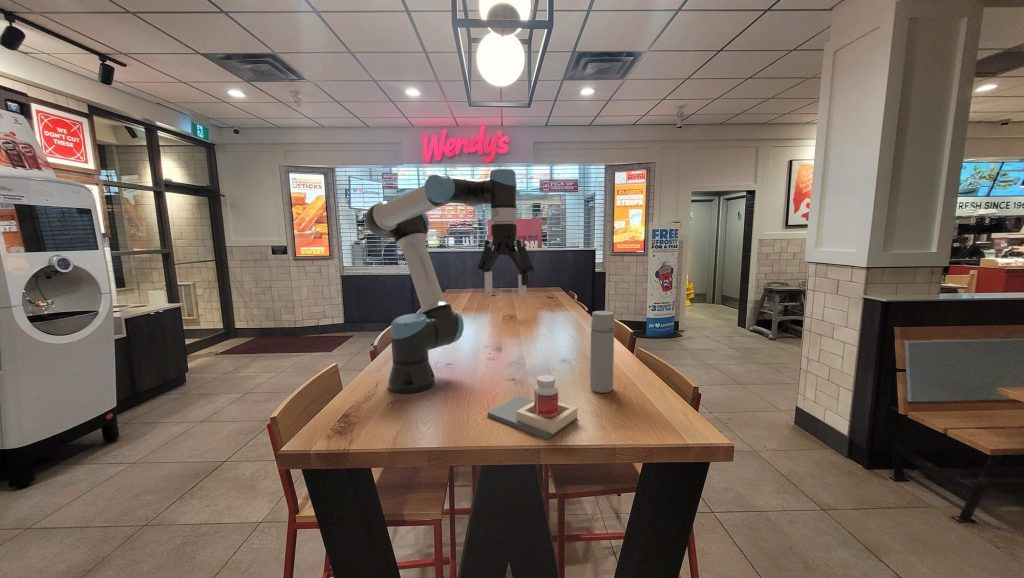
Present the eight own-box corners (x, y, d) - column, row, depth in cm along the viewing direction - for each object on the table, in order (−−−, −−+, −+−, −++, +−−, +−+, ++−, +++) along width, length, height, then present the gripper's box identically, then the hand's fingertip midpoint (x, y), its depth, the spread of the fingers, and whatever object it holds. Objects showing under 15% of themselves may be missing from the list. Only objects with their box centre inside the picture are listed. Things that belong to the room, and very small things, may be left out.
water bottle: (604, 396, 118) (606, 316, 115) (584, 389, 124) (585, 312, 121) (621, 388, 124) (623, 311, 121) (601, 381, 130) (602, 308, 127)
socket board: (487, 416, 107) (487, 403, 106) (519, 399, 117) (519, 387, 117) (550, 440, 93) (550, 426, 93) (579, 419, 104) (579, 406, 103)
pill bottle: (562, 419, 101) (562, 379, 100) (544, 426, 98) (544, 384, 96) (547, 411, 106) (547, 372, 105) (529, 417, 103) (529, 377, 102)
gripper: (465, 224, 120) (467, 292, 122) (529, 221, 104) (530, 299, 106) (482, 224, 125) (484, 289, 128) (545, 222, 109) (545, 296, 112)
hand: (504, 294), depth 117 cm, fingers open, 13 cm apart
